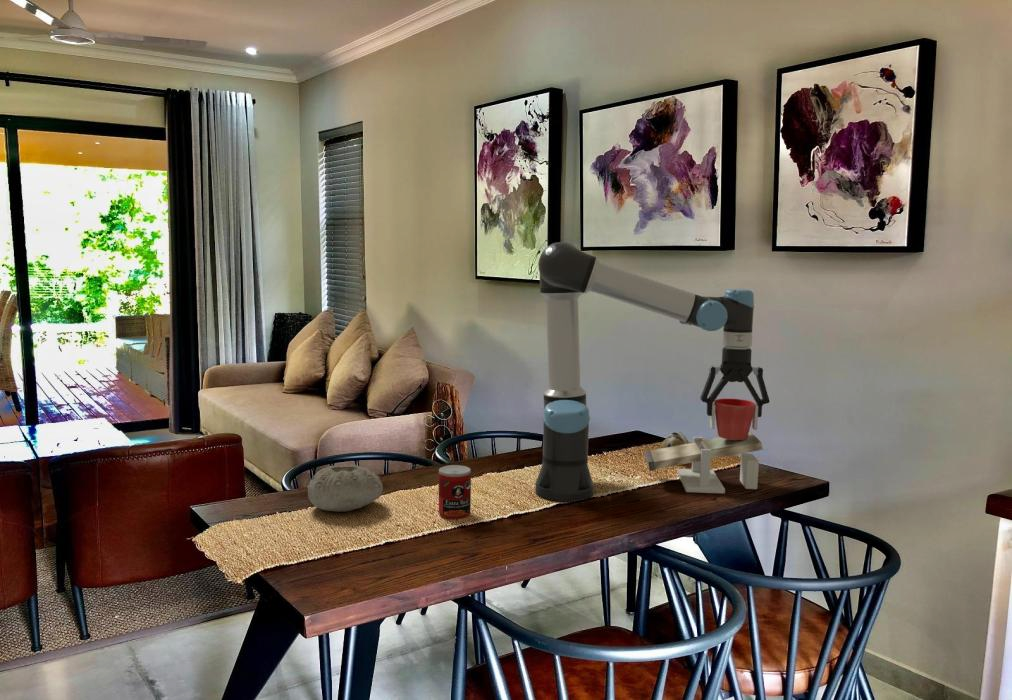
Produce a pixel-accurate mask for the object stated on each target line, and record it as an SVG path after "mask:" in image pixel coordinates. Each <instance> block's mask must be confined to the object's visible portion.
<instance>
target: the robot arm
mask: <svg viewBox="0 0 1012 700" xmlns="http://www.w3.org/2000/svg"><path fill="white" fill-rule="evenodd" d="M538 271H539V290H540V291H539V293H540V295H541V296H542V297H543V299H545V303H546V304H545V309H546V338H547V342H546V343H547V369H548V370H547V372H548V373H547V374H548V376H547V377H548V387H547V389H546V390H544V392H543V414H542V420H543V421H542V422H543V430H542V431H543V437H542V441H543V442H542V464H541V467H540V469H539V473H538V476H537V478H536V480H535V481H536V482H535V494H536V495H537V496H539V497H540V498H543V499H545V500H550V501H556V502H578V501H579V502H580V501H583V500H587V499H590V498H591V497H593V496H594V486H595V485H594V483H593V479H592V476H591V472H590V469H589V465H588V463H589V462H588V460H589V459H588V457H589V455H588V454H589V432H590V431H589V429H590V428H589V427H590V425H589V424H590V419H591V417H590V416H591V415H590V411H589V408H588V405H587V392H586V390H585V389H583V387H582V386H581V370H580V369H581V366H580V365H581V363H580V362H581V361H580V329H579V327H580V325H579V321H580V320H579V298H580V297H581V296H582V295H583V294H587V293H589V292H591V293H596V294H597V295H601V296H603V297H608V298H609V299H610V298H611V299H613V300H616V301H619V302H622V303H626V304H629V305H631V306H634V307H638V308H641V309H644V310H647V311H650V312H652V313H656V314H659V315H662V316H665V317H668V318H671V319H674V320H677V321H678V322H679V324H681V325H689V326H695V327H698V328H701V330H704V331H707V332H716V331H718V330H721V329H722V328H723V329H722V330H723V333H722V346H723V348H722V350H721V351H722V354H721V364H720V366H714V365H710V366H709V370H708V371H709V373H708V377H707V380H706V382H705V384H704V387H703V389H702V390H703V391H702V392H701V394H700V398H699V399H700V401H701V402H703V403H705V404H706V415H707V416H708V417H710V418H709V427H710V428H711V429H712V430H714V429H715V425H716V415H715V404H714V401H715V400H717V398H718V396H719V395H720V393H721V392H722V391H723V390H724V388H725V387H726V385H727V384H728V383H729V382H730V383H735V382H737V383H744V384H745V386H746V388H747V390H748V391H749V393H750V395H751V397H753V400H754V401H755V402H754V403H755V409H754V413H753V418H752V422H751V428H752V429H753V431H758V418H761V417H762V413H763V412H762V411H763V406H764V405H766V404H770V397H769V394H768V391H767V387H766V384H765V379H764V378H763V377H764V375H763V374H764V369H763V367H761V366H757V367H753V366H752V348H751V347H752V346H753V326H754V325H753V324H754V323H753V322H754V321H753V320H754V310H755V305H754V304H755V300H754V298H755V296H754V295H755V294H754V292H753V291H752V290H749V289H743V288H742V289H741V288H740V289H739V288H737V289H736V288H735V289H733V288H730V289H726V290H725V291H724V294H723V296H703V295H702V296H701V295H699V294H696V293H693V292H690V291H687V290H684V289H681V288H677V287H675V286H672V285H669V284H665V283H663V282H659V281H657V280H654V279H651V278H647V277H645V276H642V275H639V274H635V273H633V272H631V271H627V270H623V269H621V268H618V267H615V266H612V265H608V264H605V263H602V262H600V260H599V258H598V257H596V256H594V255H591V254H589V253H586V252H584V251H582V250H580V249H579V248H577V247H576V246H575V245H573V244H572V243H569V242H564V241H559V242H553V243H551V244H549V245H548V246H546V247H545V248H544V249H543V250H542V252H541V254H540V257H539V259H538ZM719 372H721V374H722V377H721V378H720V379H719V382H718V383H717V385H716V386H715V387H714V389H713V390H712V392H711V388H712V387H713V383H714V381H715V379H716V375H718V374H719ZM752 372H753V375H754V376H755V377H756V381H757V383H758V387H759V391H760V394H761V398H760V396H759V394H758V393H757V391H756V389H755V388H754V386H753V384H752V382H751V380H750V379H749V376H750V374H752ZM710 392H711V393H710Z"/></svg>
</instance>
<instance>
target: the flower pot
mask: <svg viewBox="0 0 1012 700" xmlns="http://www.w3.org/2000/svg"><path fill="white" fill-rule="evenodd" d="M713 403H714V404H715V425H716V430H717V436H718V437H721V438H724V439H730V440H744V439H747V437H748V434H749V431H750V429H751V427H752V418H753V413H754V409H755V404H756V402H753V401H752V400H748V399H741V398H718V399H717V398H716V399H715V401H714V402H713Z"/></svg>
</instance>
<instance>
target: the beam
mask: <svg viewBox="0 0 1012 700" xmlns="http://www.w3.org/2000/svg"><path fill="white" fill-rule="evenodd" d="M701 449H711V460H714V459H718V458H724V457H731V456H736V455H741V454H742V453H753V452H757V451H762V450H763V444H762V441H760V440H759V438H758V437H757V436H756V435H755V434H754V433H753V432H752V431H750V430H749V434H748V437H747V439H744V440H730V439H724V438H721V437H719V436H718V437H712V438H706V439H703V441H697V442H694V443H693V442H689V444H684V445H678V446H673V447H667V448H662V449H656V448H655V449H651V450H650V449H649V450H644V451H643V452H644V457H645V461H646V464H647V466H648V469H649V472H653V471H656V470H659V469H665V468H668V467H675V466H680V465H687V464H692V462H698V461H701Z"/></svg>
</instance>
